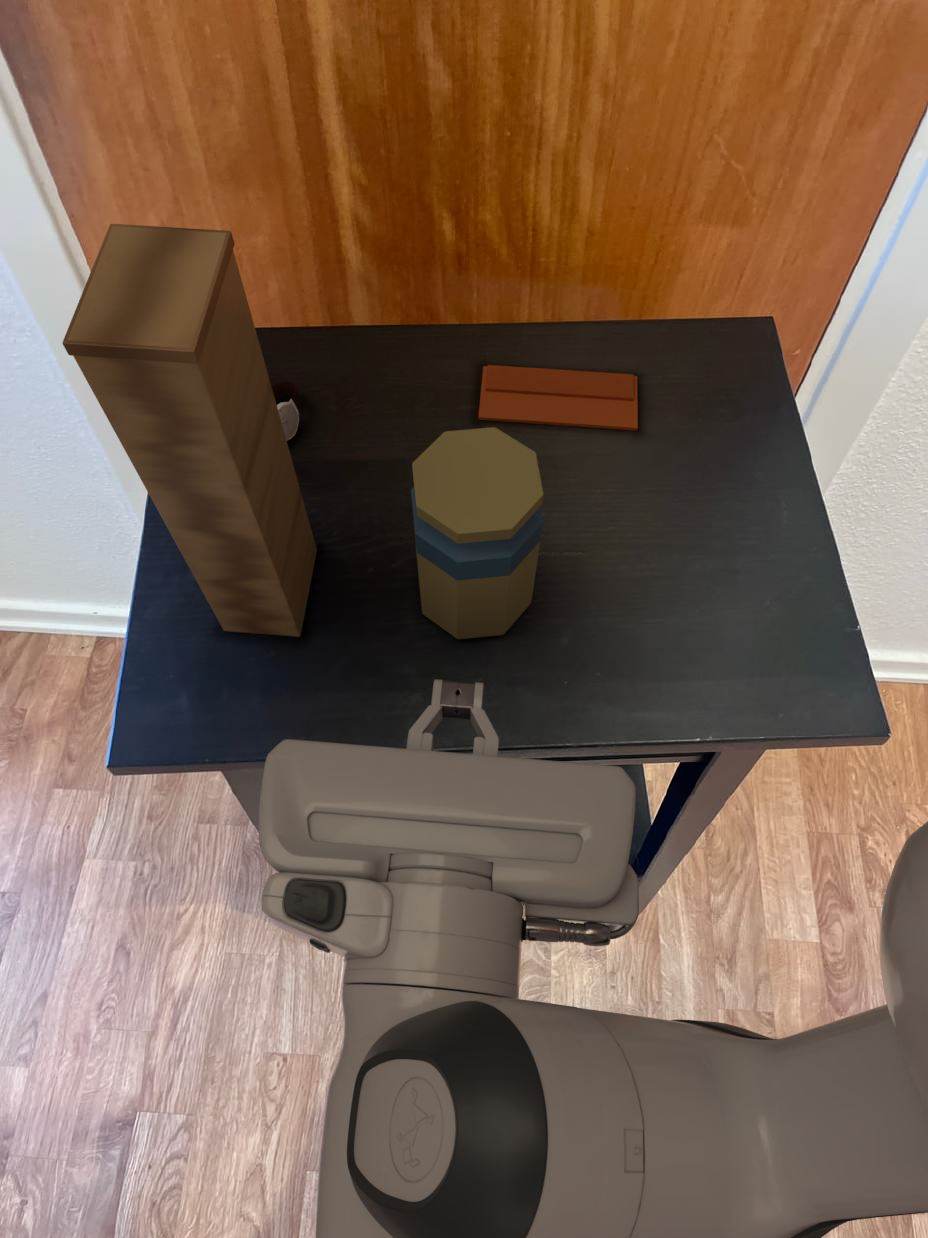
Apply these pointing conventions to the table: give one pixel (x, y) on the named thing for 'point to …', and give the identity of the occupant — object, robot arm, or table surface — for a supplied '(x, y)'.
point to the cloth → (559, 397)
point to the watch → (288, 406)
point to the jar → (476, 530)
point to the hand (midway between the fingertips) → (459, 684)
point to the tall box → (198, 417)
